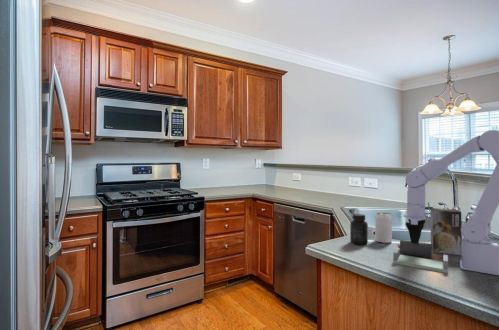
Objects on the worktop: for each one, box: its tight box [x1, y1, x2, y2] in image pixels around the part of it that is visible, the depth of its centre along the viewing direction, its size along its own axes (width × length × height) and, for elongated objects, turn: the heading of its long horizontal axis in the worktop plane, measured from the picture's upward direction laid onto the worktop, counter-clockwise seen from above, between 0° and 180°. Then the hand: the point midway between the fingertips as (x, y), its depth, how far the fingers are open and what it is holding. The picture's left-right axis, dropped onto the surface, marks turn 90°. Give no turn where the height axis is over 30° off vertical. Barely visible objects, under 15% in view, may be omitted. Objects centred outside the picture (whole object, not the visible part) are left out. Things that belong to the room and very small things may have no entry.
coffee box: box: [430, 207, 463, 256], centre depth 109 cm, size 9×6×16 cm
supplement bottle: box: [349, 213, 369, 247], centre depth 120 cm, size 7×7×12 cm
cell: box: [397, 239, 433, 259], centre depth 105 cm, size 11×5×5 cm, turn 56°
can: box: [374, 212, 393, 244], centre depth 123 cm, size 6×6×12 cm
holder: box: [392, 247, 449, 274], centre depth 96 cm, size 15×8×4 cm, turn 56°
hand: (415, 240), depth 105 cm, fingers open, 7 cm apart
